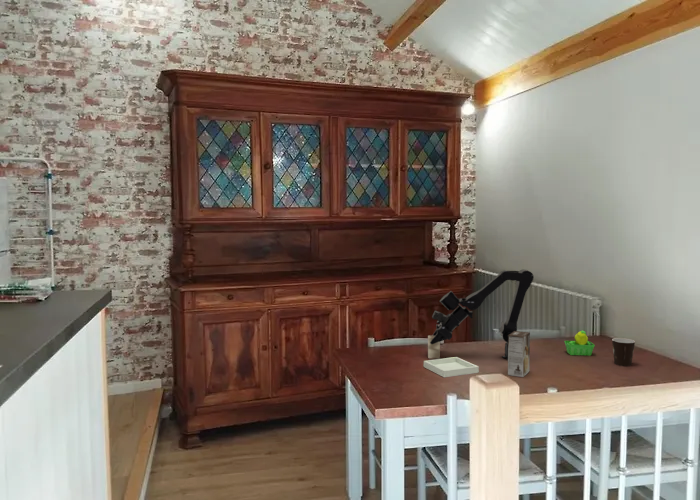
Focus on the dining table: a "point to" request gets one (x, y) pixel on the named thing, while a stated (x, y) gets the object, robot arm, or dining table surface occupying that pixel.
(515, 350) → the coffee box
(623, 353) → the coffee mug
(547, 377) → the dining table surface
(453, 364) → the tray
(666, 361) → the dining table surface
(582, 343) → the fruit basket
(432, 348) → the birch block
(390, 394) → the dining table surface
